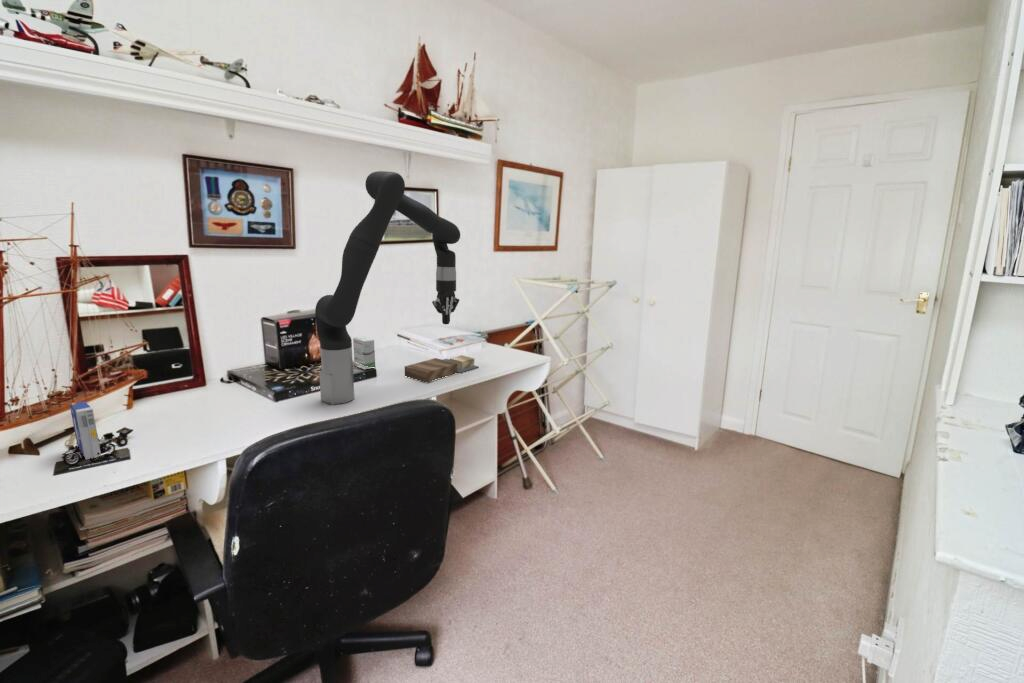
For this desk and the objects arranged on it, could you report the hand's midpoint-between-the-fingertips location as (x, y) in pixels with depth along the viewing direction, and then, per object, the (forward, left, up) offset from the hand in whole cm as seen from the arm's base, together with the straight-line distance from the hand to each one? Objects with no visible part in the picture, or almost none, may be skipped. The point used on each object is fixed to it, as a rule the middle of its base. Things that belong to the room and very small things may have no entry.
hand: (446, 323), depth 183 cm
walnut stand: (-8, 0, -19) cm, 20 cm away
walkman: (-105, +15, -19) cm, 108 cm away
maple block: (+8, -1, -15) cm, 17 cm away
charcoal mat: (+6, +2, -19) cm, 20 cm away
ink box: (-18, +27, -19) cm, 38 cm away
